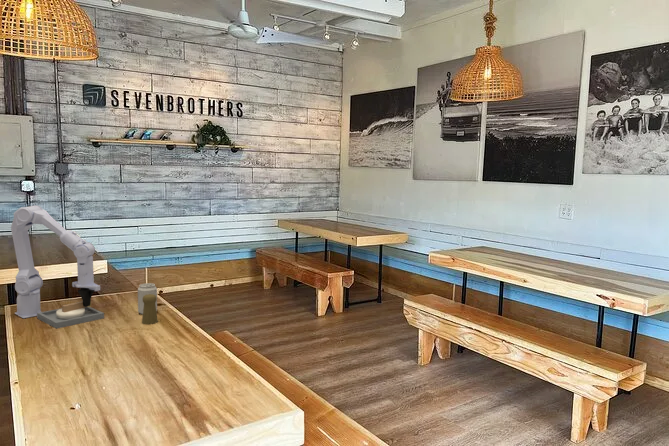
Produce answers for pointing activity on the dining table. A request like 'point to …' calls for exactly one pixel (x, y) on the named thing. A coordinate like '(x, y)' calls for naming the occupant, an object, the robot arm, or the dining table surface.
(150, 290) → the can
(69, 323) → the slate tray
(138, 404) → the dining table surface
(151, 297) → the cork
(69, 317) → the dial
